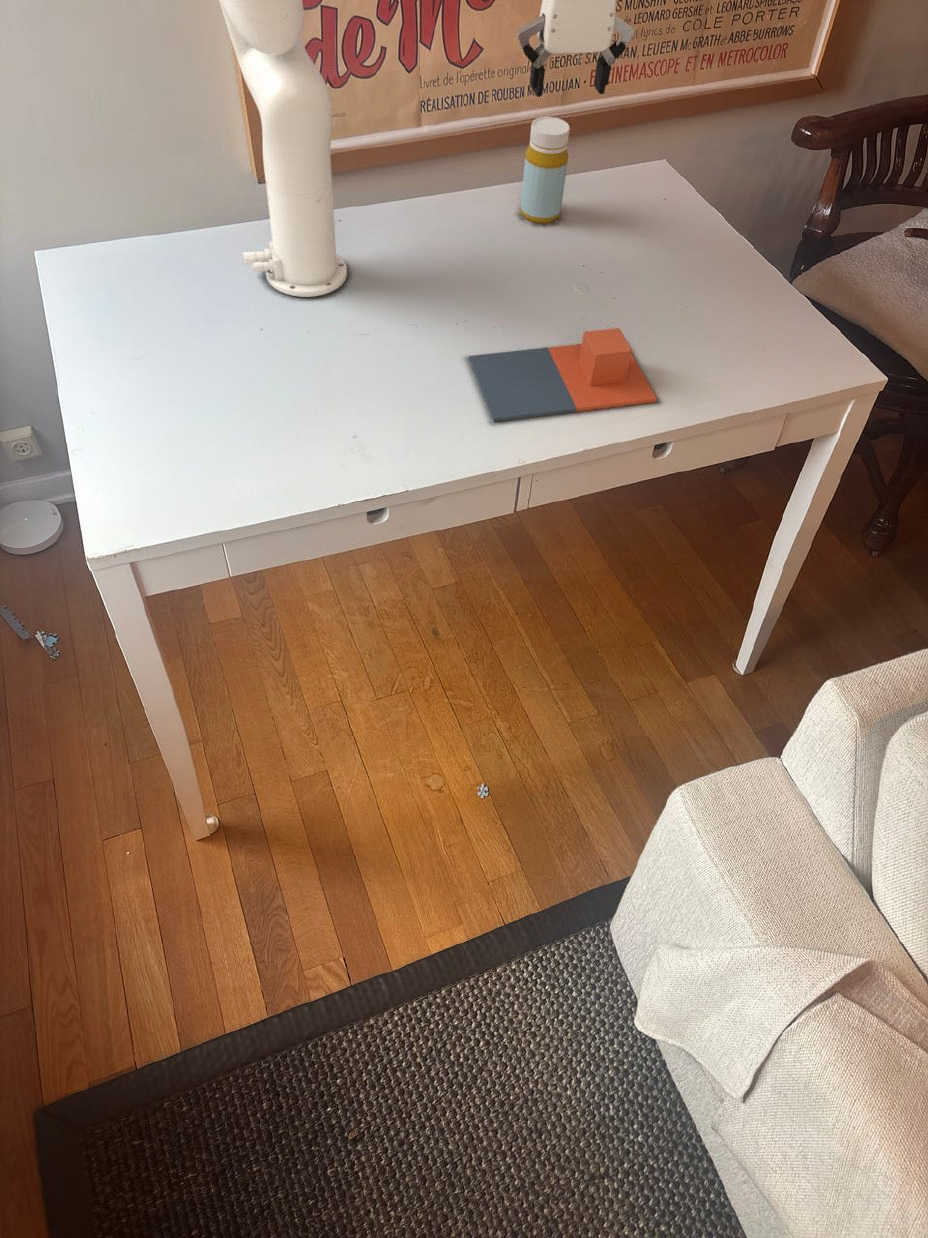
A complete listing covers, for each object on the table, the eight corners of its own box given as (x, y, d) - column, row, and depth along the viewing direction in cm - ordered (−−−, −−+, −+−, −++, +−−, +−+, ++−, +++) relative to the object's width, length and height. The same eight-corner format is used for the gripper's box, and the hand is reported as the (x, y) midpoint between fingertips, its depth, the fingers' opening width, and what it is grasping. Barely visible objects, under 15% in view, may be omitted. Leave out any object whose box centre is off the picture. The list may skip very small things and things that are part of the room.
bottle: (515, 220, 164) (525, 131, 153) (524, 200, 169) (533, 112, 157) (555, 227, 164) (568, 139, 152) (563, 207, 168) (575, 119, 156)
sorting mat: (493, 421, 132) (493, 418, 132) (468, 359, 140) (468, 355, 140) (656, 401, 137) (657, 398, 136) (622, 342, 145) (623, 338, 144)
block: (589, 386, 137) (595, 354, 133) (577, 362, 140) (583, 331, 136) (625, 382, 138) (632, 350, 134) (612, 358, 141) (619, 327, 137)
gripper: (637, -53, 134) (615, 77, 147) (517, -51, 131) (505, 82, 144) (655, -32, 129) (630, 100, 143) (531, -30, 126) (518, 105, 140)
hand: (567, 91), depth 143 cm, fingers open, 9 cm apart
